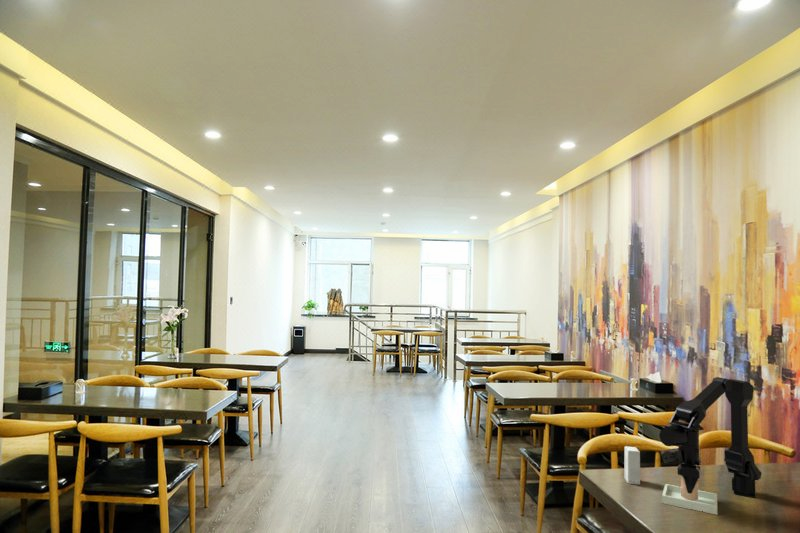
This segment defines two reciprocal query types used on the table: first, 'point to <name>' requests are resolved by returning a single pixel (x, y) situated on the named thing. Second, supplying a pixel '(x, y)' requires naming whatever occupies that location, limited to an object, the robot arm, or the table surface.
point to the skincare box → (632, 465)
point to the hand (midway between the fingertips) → (689, 490)
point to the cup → (685, 494)
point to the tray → (703, 503)
